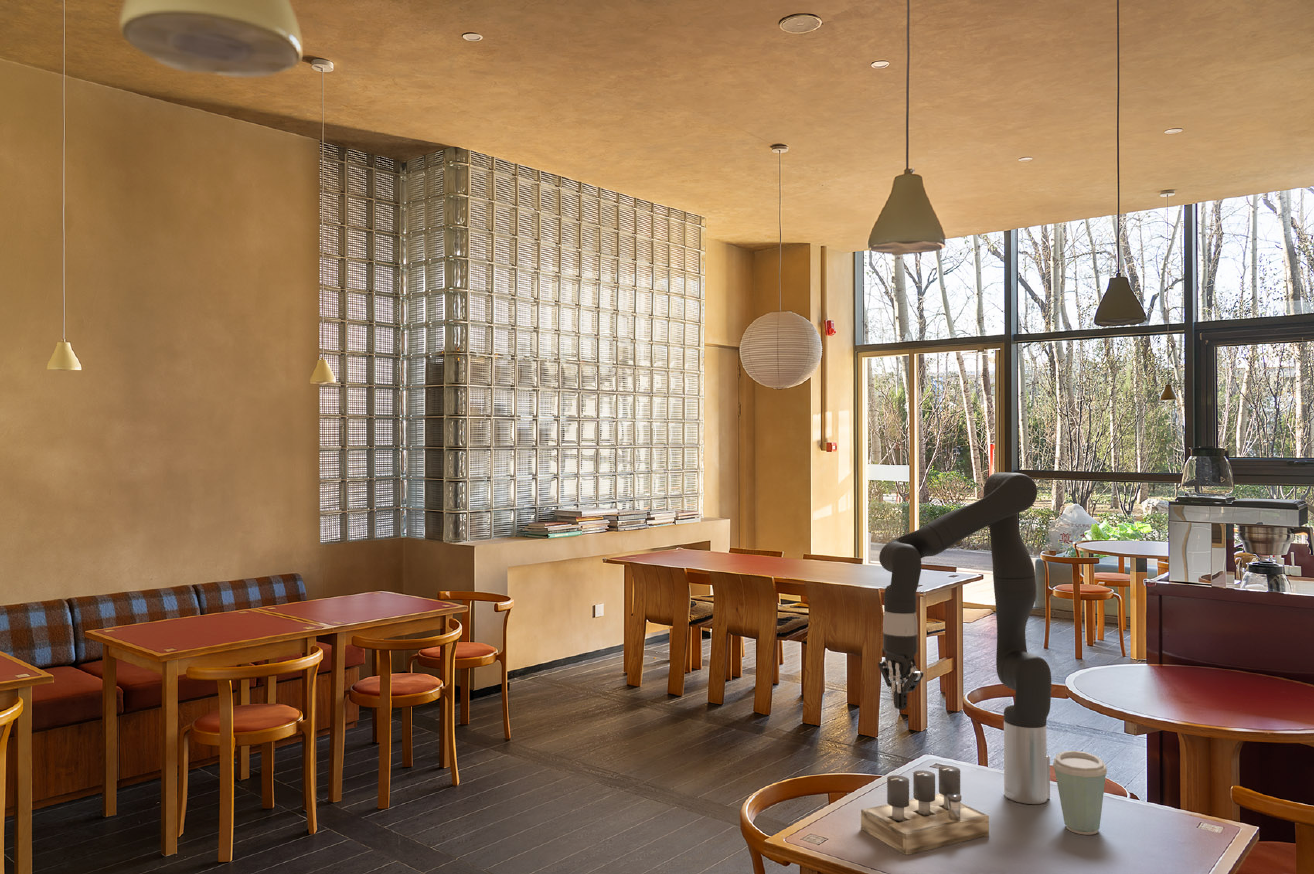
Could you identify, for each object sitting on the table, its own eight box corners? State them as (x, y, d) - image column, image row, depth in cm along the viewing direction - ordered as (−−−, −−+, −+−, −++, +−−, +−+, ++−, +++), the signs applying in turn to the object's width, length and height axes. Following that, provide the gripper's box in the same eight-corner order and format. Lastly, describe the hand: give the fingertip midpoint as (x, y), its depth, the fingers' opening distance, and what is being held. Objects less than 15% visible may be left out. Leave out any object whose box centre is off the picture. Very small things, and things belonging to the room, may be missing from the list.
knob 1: (899, 812, 189) (899, 773, 189) (913, 820, 185) (913, 780, 185) (882, 816, 187) (882, 776, 187) (897, 823, 183) (896, 783, 183)
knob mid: (925, 807, 192) (924, 768, 192) (939, 814, 188) (939, 774, 188) (909, 810, 190) (908, 771, 190) (923, 817, 186) (923, 778, 186)
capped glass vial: (954, 814, 188) (954, 792, 188) (964, 819, 186) (964, 796, 186) (944, 817, 187) (944, 794, 187) (954, 821, 184) (954, 798, 184)
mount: (940, 811, 200) (940, 793, 200) (988, 835, 188) (988, 815, 188) (861, 828, 191) (861, 809, 191) (906, 854, 178) (906, 834, 178)
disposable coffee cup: (1115, 841, 185) (1114, 767, 185) (1059, 836, 187) (1058, 763, 187) (1100, 821, 195) (1099, 751, 195) (1047, 817, 197) (1047, 748, 198)
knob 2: (949, 801, 195) (949, 763, 195) (965, 808, 191) (964, 770, 191) (934, 805, 193) (934, 766, 193) (949, 812, 189) (949, 773, 190)
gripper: (933, 635, 199) (934, 714, 199) (893, 625, 211) (893, 699, 211) (907, 637, 196) (907, 718, 196) (868, 627, 208) (868, 703, 208)
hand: (900, 708), depth 203 cm, fingers closed
